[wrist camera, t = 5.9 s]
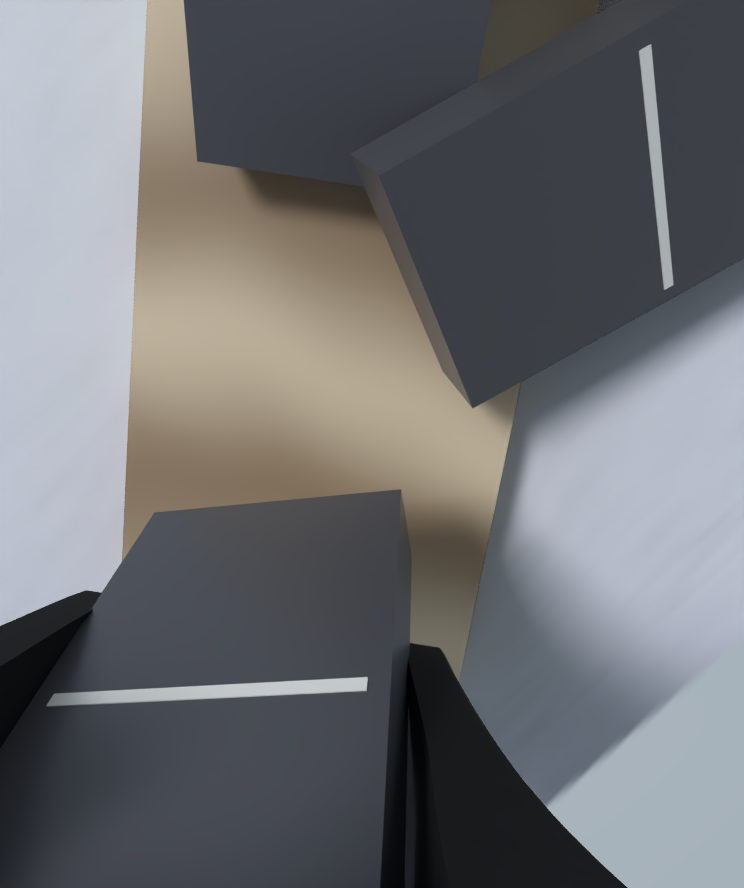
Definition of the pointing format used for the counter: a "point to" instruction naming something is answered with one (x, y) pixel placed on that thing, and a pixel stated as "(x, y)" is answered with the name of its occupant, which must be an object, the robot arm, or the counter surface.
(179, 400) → the board
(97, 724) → the domino
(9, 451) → the counter surface
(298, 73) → the domino
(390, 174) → the domino
